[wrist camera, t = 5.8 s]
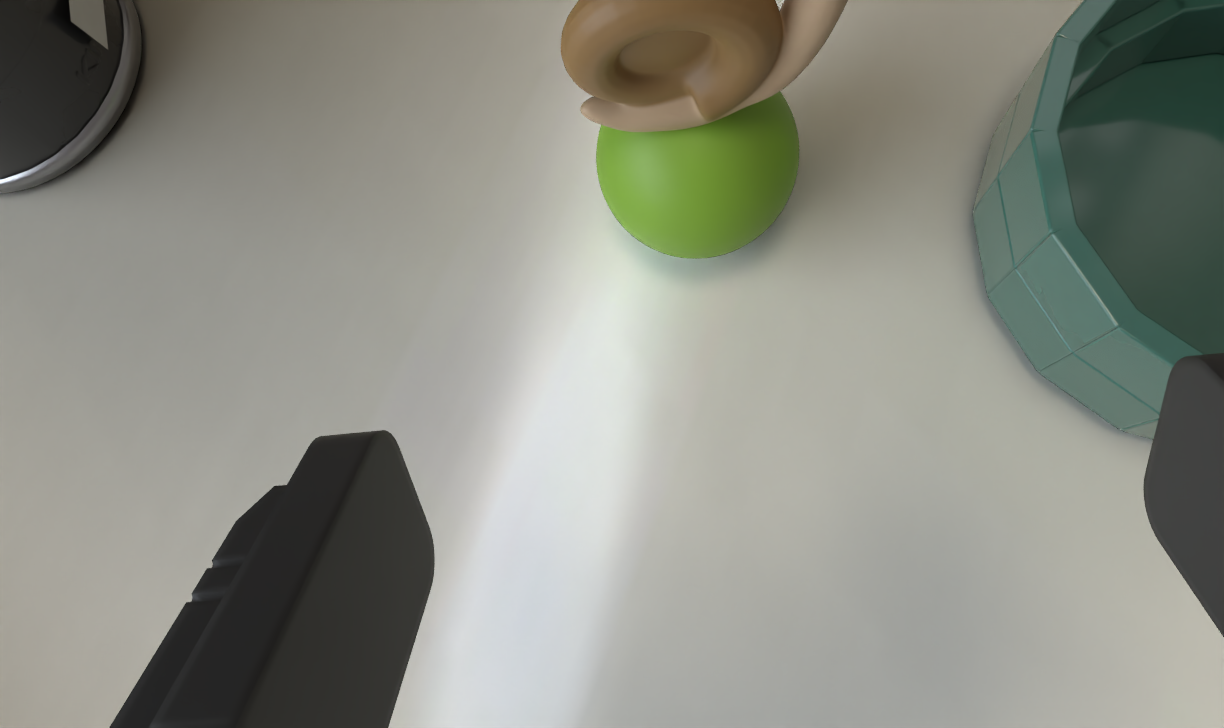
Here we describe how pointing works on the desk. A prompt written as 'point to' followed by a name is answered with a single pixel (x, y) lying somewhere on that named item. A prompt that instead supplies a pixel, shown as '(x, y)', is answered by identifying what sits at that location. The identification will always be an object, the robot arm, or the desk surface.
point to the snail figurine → (694, 112)
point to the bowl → (1113, 204)
